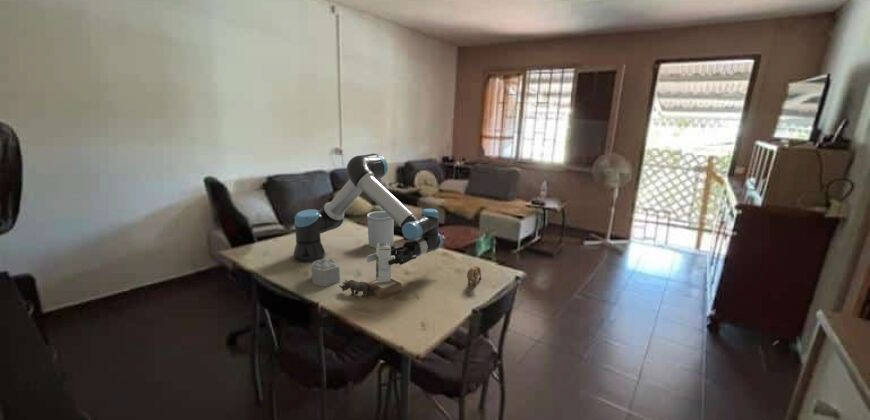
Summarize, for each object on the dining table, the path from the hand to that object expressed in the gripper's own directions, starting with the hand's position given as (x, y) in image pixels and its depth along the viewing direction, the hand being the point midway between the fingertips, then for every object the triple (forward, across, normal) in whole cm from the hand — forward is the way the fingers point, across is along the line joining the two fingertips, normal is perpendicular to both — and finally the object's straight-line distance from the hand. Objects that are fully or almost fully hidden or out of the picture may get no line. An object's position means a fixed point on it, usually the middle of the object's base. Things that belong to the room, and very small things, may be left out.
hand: (374, 261), depth 150 cm
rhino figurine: (+5, +7, -15) cm, 17 cm away
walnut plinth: (-5, 0, -14) cm, 15 cm away
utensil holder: (-43, +46, -15) cm, 65 cm away
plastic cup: (-61, +42, -15) cm, 75 cm away
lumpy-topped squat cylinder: (+5, +28, -15) cm, 32 cm away
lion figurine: (-38, -22, -15) cm, 46 cm away
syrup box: (-5, 0, -9) cm, 10 cm away
